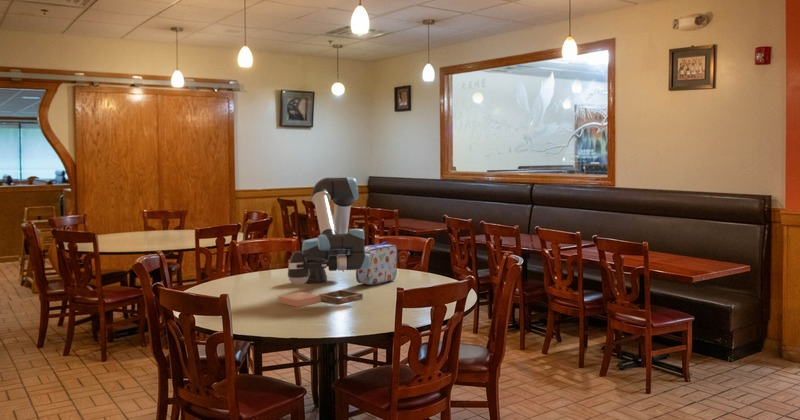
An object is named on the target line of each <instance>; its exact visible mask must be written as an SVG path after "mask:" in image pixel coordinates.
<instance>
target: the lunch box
mask: <svg viewBox="0 0 800 420" xmlns="http://www.w3.org/2000/svg"><path fill="white" fill-rule="evenodd" d="M365 253H366V254H369V258H370V266H369V268H368V269H362V270H355V280H356V282H358V283H359V284H363V285H367V286H368V285H369V286H374V285H380V284H384V283H388V282H391V281H394V280H395V279H396V277H397V274H398V273H397V271H398V270H397V269H398V267H397V265H398V264H397V263H398V247H397V246H396V245H394V244H390V243H389V242H388V241H383V242H382V243H377V244H373V245H372V244H370V245H365Z"/></svg>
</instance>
